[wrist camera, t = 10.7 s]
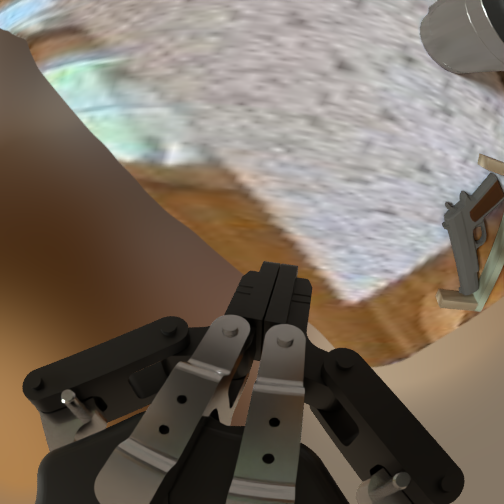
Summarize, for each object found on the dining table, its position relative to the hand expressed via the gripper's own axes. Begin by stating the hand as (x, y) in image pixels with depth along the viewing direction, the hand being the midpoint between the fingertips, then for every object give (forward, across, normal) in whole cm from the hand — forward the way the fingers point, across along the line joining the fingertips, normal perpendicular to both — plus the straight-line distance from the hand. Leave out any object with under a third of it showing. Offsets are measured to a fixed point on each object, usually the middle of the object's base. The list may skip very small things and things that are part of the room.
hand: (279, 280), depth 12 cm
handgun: (+28, -28, +7) cm, 40 cm away
